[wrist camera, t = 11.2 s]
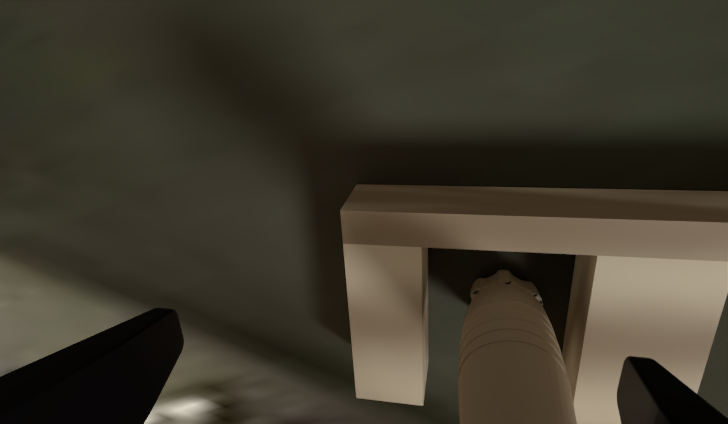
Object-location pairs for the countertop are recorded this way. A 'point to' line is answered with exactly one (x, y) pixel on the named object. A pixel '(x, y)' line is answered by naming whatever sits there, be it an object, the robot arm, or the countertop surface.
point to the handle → (511, 358)
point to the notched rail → (542, 235)
